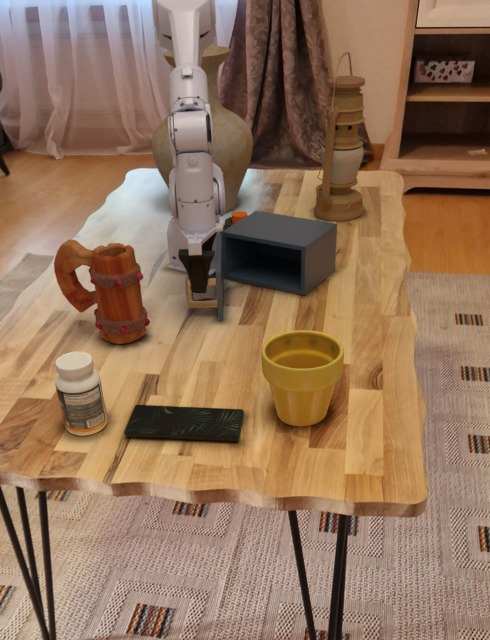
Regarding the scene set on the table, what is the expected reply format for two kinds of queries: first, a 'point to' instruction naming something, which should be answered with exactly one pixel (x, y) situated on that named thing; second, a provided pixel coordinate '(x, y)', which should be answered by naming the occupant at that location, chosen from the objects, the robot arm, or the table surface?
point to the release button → (238, 216)
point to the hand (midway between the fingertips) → (201, 281)
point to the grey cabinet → (279, 252)
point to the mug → (105, 288)
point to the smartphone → (185, 423)
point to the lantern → (341, 150)
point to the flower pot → (302, 374)
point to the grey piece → (212, 280)
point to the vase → (227, 128)
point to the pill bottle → (80, 394)
